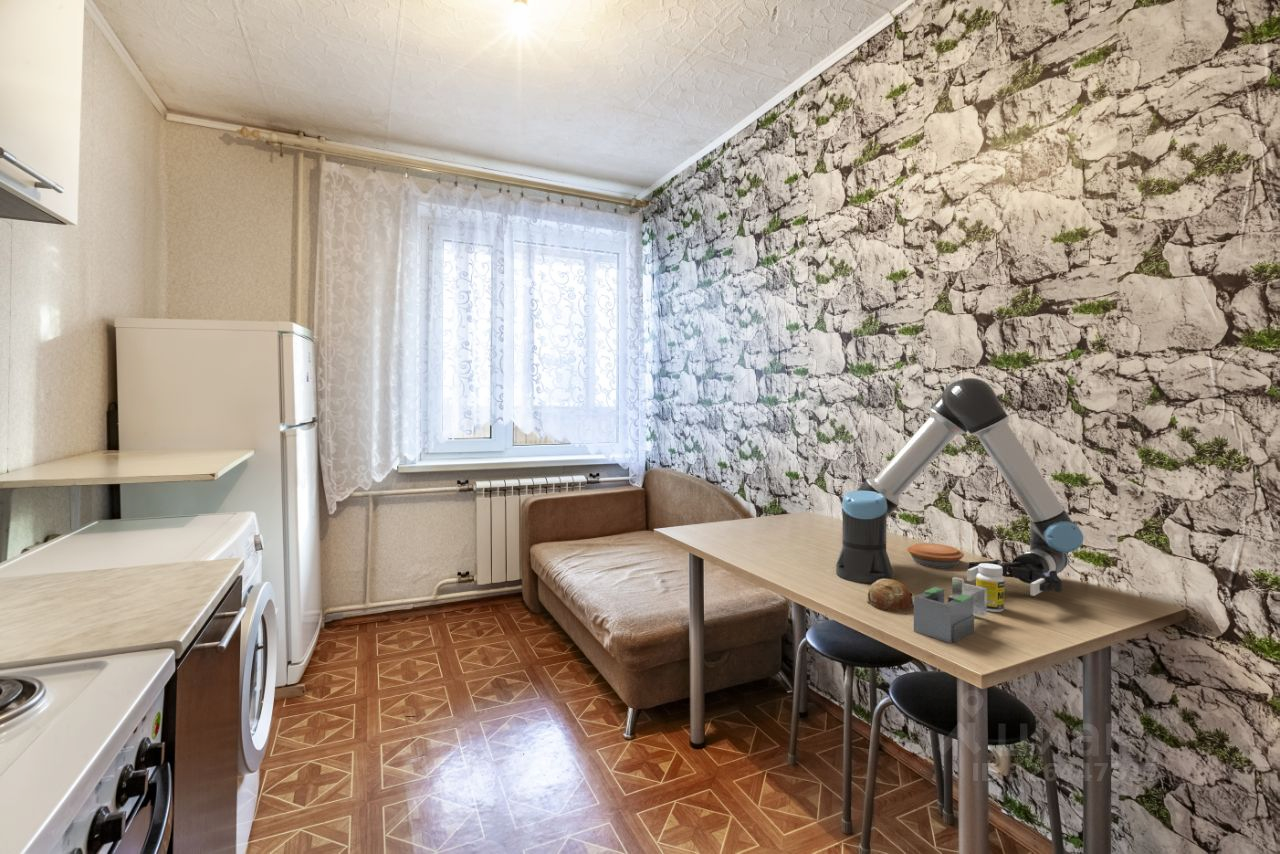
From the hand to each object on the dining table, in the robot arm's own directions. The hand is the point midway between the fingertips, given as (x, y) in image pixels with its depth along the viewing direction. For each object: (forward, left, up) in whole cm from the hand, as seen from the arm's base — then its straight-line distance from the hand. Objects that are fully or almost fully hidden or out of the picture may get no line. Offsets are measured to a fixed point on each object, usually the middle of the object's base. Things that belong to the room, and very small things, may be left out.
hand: (999, 582), depth 132 cm
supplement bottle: (-1, -3, -6) cm, 7 cm away
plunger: (-5, -15, -5) cm, 17 cm away
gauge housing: (-7, -25, -6) cm, 26 cm away
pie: (-20, +33, -6) cm, 39 cm away
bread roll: (-21, -14, -6) cm, 26 cm away
